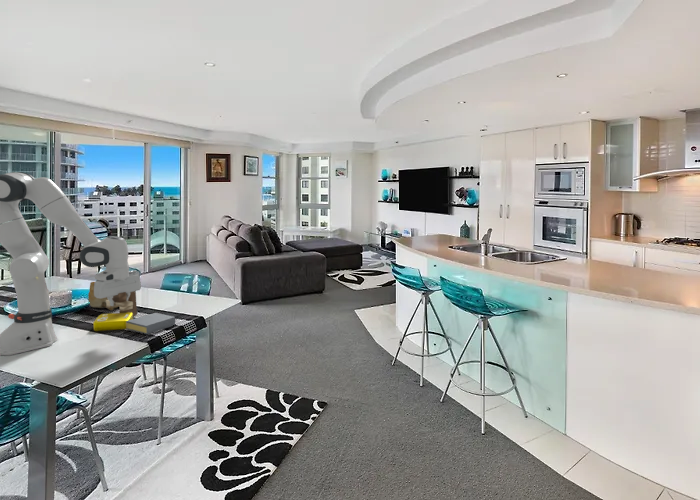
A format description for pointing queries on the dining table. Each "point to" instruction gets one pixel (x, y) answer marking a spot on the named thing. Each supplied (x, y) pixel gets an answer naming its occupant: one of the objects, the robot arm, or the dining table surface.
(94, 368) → the dining table surface
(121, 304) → the tan stepped block
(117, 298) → the brown box
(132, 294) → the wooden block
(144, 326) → the dock
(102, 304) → the rough brown rock
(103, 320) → the element tile
